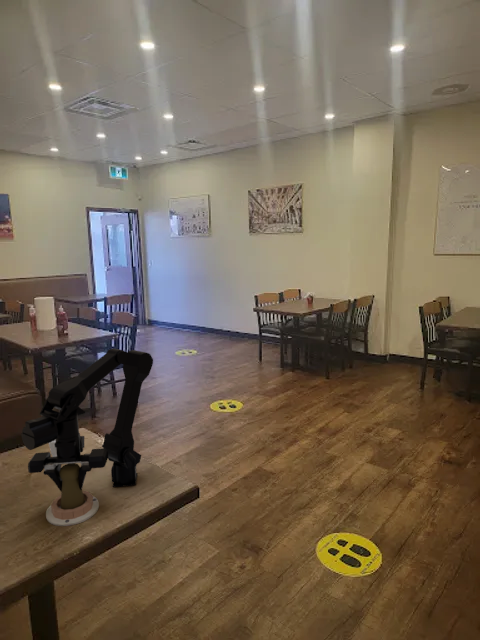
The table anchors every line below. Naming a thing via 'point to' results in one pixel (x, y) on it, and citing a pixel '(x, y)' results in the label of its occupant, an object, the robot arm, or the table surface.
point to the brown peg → (71, 487)
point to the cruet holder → (72, 511)
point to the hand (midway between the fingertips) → (71, 490)
